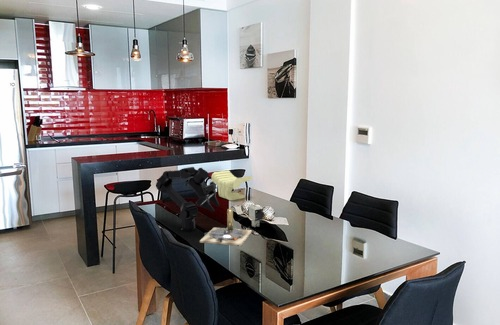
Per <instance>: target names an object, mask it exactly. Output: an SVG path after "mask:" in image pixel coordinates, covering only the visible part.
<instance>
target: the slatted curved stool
mask: <svg viewBox="0 0 500 325" xmlns="http://www.w3.org/2000/svg"><path fill="white" fill-rule="evenodd" d="M252 180H253V176H252V175H250V176H243V177H237V176H235V175H234V174H233V173H232V172H231V171H230V170H221V171H220V170H219V171H214V172H213V173H212V174H211V182H212V181H213V182H214V183H215V184H216V186H217V191H218V192H217V193H218V197H220V198H223V199H226V200H228V201H235V200H241V199H245V198H246V197H245V194H242V193H239V192H232V191H233V190H236V189H239V188H240V186H241V184H242V183H245V182H248V181H252Z"/></svg>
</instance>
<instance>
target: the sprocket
mask: <svg viewBox="0 0 500 325" xmlns="http://www.w3.org/2000/svg"><path fill="white" fill-rule="evenodd" d="M233 210H234V209H233V208H227V211H226V214H227V216H226V217H227V218H226V221H227V223H226V224H227V227H222V228H223V229H220V228H221V227H217V228H218V230H212V229H211V230H212V231H211V230H210V231H211V232H212V233H209V235H212V236H210V238H215V239H216V240H219V238H222V240H225V241H227V240H232V239H233V240H237V238H242V237H243V235H245V232H243V230H244V229H242V230H238V229H239V228H237V227H234V211H233Z"/></svg>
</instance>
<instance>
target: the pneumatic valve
mask: <svg viewBox="0 0 500 325" xmlns="http://www.w3.org/2000/svg"><path fill="white" fill-rule="evenodd" d="M247 207H248V209H247V213H248V215H247V216H248V218H250V219H252V220H251V227H254V228H256V227H258V228H259V227H260V221H263V219H264V217H265V214H264V213H265V212H264V209H263V208H262V207H261V206H257V205H249V206H247Z"/></svg>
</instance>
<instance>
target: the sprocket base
mask: <svg viewBox="0 0 500 325" xmlns="http://www.w3.org/2000/svg"><path fill="white" fill-rule="evenodd" d="M218 228H220V229H223V228H224V227H212V229H211V230H209V231H208V232H207V233H206V234H205V235H204V236H203V237H202V238H201V239H200V240H199V243H201V244H202V243H203V244H213V245H226V246H237V245H239V246H240V247H242V246H243V245H244V243H245V242H246V240H247V239H248V238H249V236H251V233H252V232H253V231H252V230H251V229H239V228H237V229H238V230H243V232H245V235H243V237H242V238H237V240H233V239H232V240H227V241H225V240H222V238H219V240H216V239H215V238H210V236H212V235H209V233H212V232H211V231H212V230H218ZM239 246H238V247H239Z"/></svg>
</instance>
